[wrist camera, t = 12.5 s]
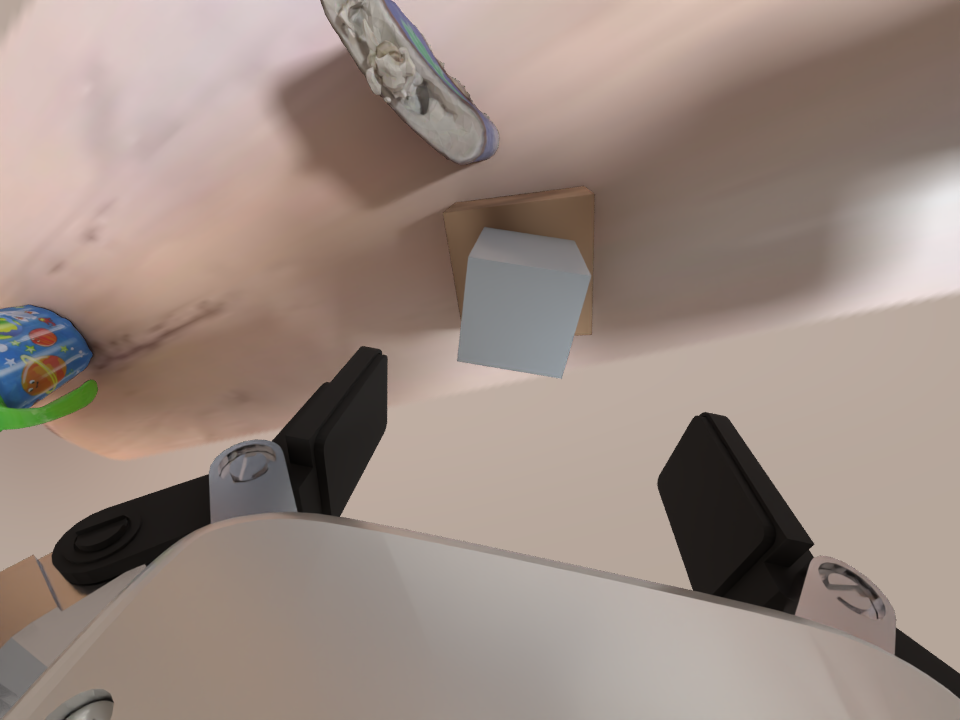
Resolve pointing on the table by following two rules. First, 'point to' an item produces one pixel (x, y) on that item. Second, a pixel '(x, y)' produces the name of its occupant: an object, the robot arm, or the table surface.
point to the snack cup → (39, 366)
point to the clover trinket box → (412, 78)
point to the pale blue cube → (522, 302)
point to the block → (525, 230)
